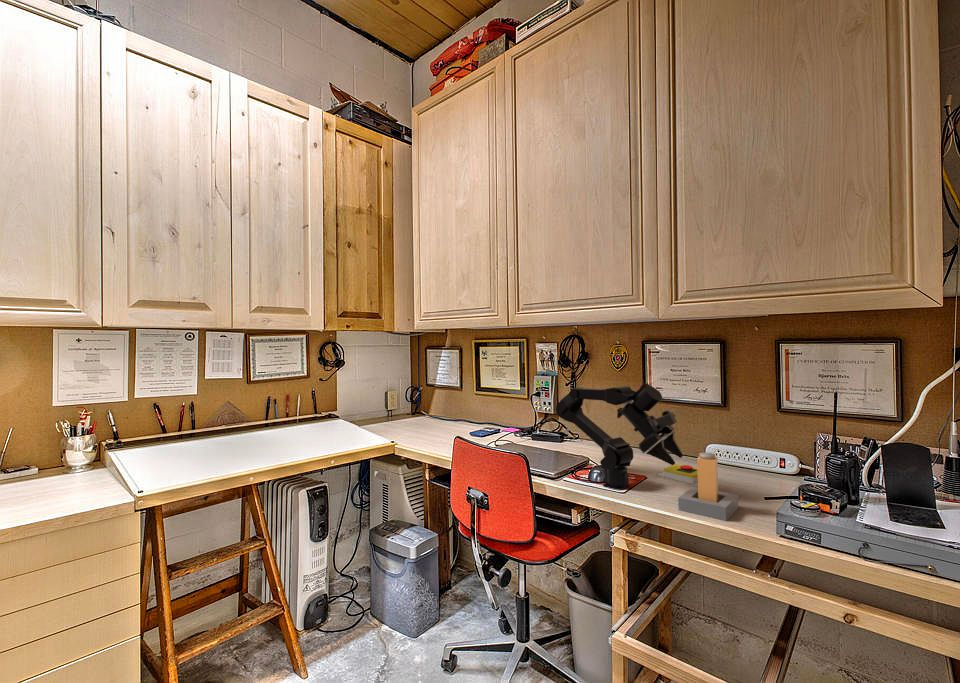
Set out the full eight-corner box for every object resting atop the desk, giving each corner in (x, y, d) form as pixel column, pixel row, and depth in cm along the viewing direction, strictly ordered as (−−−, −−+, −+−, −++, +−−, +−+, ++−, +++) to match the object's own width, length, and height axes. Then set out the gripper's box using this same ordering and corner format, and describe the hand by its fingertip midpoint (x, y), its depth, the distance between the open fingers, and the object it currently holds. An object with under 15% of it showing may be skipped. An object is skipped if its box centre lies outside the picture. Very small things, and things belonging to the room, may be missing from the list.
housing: (678, 510, 126) (678, 497, 126) (693, 498, 135) (693, 486, 135) (725, 521, 118) (725, 507, 118) (738, 507, 126) (738, 495, 126)
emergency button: (698, 473, 146) (656, 464, 158) (698, 486, 146) (656, 476, 158) (712, 467, 152) (670, 459, 164) (712, 480, 152) (671, 471, 164)
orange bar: (698, 505, 125) (697, 455, 125) (700, 500, 129) (699, 451, 129) (716, 508, 123) (715, 457, 123) (718, 503, 127) (717, 453, 127)
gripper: (649, 407, 129) (691, 450, 123) (667, 399, 144) (705, 437, 138) (622, 431, 134) (661, 474, 128) (642, 421, 149) (678, 459, 143)
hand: (678, 460), depth 134 cm, fingers open, 9 cm apart
